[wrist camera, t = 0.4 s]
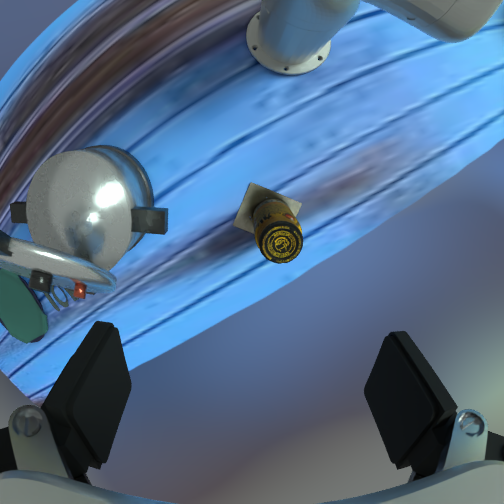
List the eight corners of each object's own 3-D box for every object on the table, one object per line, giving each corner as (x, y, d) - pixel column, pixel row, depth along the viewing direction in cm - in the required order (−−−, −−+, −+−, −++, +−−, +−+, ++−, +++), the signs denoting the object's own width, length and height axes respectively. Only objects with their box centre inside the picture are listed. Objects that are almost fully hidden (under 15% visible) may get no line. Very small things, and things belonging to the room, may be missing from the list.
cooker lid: (-75, 211, 14) (-84, 242, 13) (39, 216, 15) (26, 264, 14) (33, 275, 37) (30, 294, 36) (136, 291, 38) (133, 314, 37)
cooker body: (41, 148, 39) (5, 154, 29) (183, 145, 41) (167, 148, 31) (48, 257, 46) (19, 280, 37) (177, 273, 48) (164, 304, 39)
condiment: (282, 244, 47) (294, 278, 36) (232, 225, 45) (229, 254, 34) (301, 203, 44) (321, 225, 33) (250, 181, 43) (254, 197, 32)
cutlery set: (-19, 284, 48) (-24, 288, 46) (38, 227, 45) (31, 230, 42) (24, 346, 55) (20, 351, 53) (92, 310, 52) (87, 316, 50)
